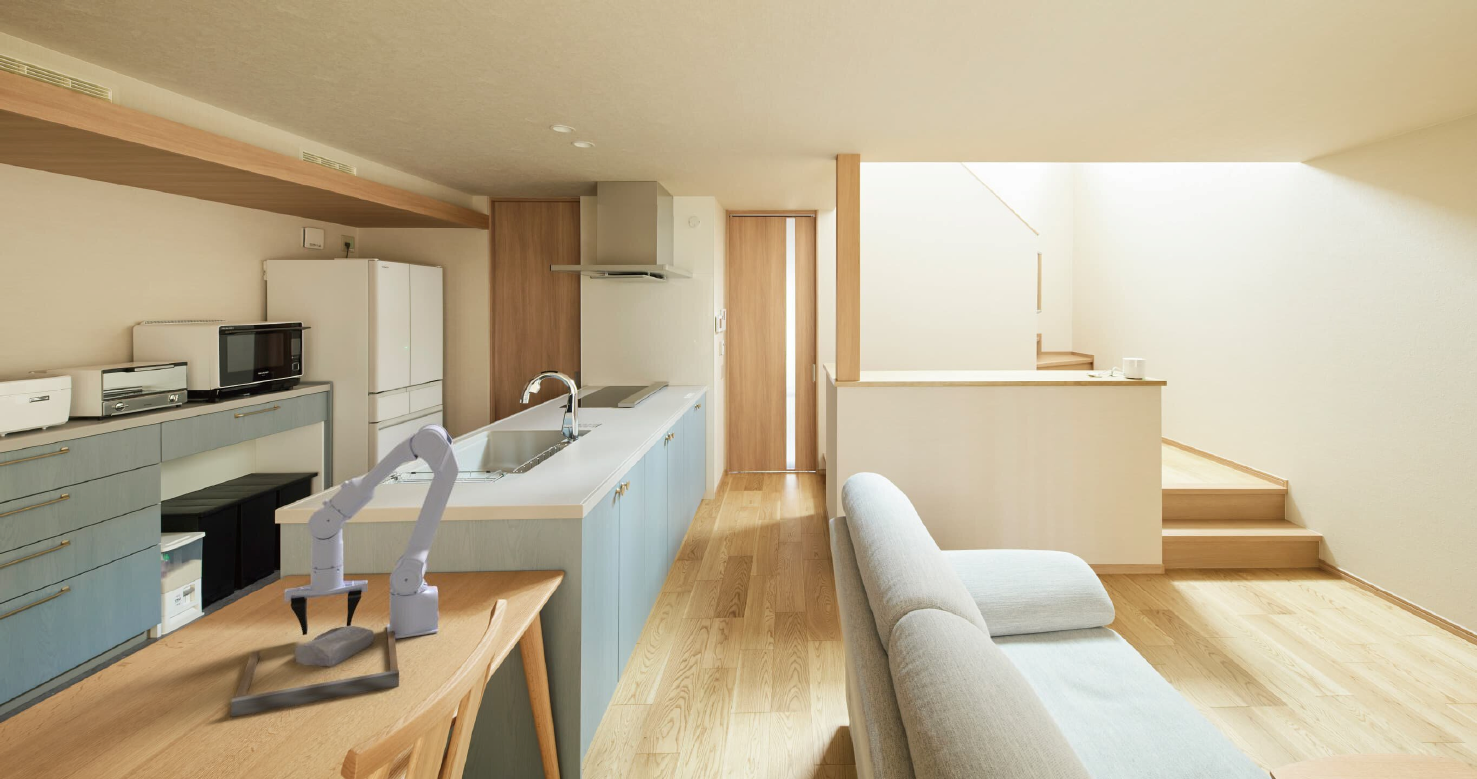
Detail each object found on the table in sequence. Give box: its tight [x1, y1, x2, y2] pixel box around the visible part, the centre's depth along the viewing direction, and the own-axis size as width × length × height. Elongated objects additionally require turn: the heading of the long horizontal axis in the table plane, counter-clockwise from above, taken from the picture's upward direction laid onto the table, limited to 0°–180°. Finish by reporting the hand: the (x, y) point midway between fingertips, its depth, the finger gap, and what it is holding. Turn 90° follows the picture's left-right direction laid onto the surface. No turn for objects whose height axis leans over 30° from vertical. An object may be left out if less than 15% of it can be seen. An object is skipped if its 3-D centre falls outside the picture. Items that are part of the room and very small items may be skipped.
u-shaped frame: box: [230, 631, 400, 718], centre depth 126 cm, size 24×23×2 cm
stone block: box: [294, 625, 375, 668], centre depth 134 cm, size 12×5×10 cm
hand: (327, 630), depth 140 cm, fingers open, 7 cm apart
